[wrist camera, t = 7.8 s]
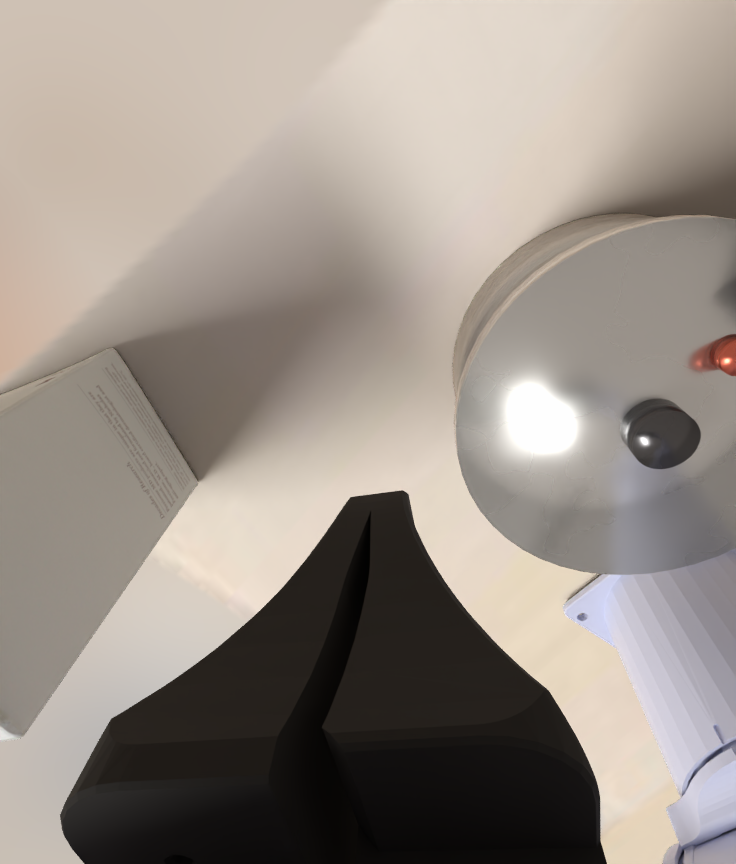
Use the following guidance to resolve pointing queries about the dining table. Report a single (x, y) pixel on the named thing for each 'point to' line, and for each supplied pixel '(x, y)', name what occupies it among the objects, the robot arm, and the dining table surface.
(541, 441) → the lid
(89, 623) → the supplement box
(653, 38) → the dining table surface
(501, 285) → the pot
